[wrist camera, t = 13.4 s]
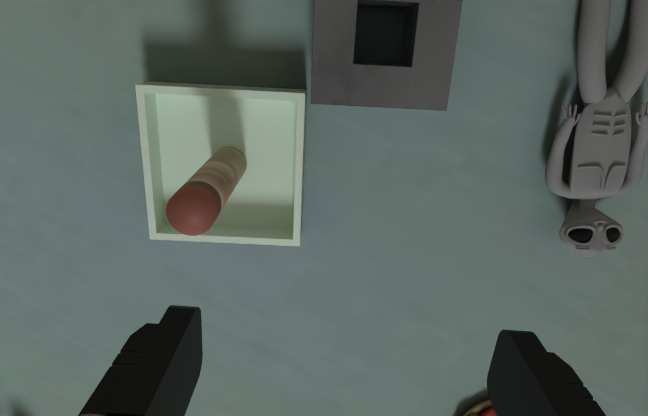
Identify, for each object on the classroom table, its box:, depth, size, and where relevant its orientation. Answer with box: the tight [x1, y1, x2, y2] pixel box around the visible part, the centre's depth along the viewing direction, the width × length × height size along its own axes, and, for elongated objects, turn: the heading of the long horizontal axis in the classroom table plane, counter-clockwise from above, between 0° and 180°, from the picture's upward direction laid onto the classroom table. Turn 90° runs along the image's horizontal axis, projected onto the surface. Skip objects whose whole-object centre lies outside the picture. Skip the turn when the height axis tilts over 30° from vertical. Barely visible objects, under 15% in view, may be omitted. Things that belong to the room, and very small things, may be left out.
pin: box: [166, 147, 247, 236], centre depth 33 cm, size 3×3×12 cm
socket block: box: [311, 0, 462, 111], centre depth 33 cm, size 10×10×5 cm
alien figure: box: [545, 0, 648, 259], centre depth 36 cm, size 8×5×25 cm
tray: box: [135, 81, 307, 246], centre depth 38 cm, size 13×13×3 cm
